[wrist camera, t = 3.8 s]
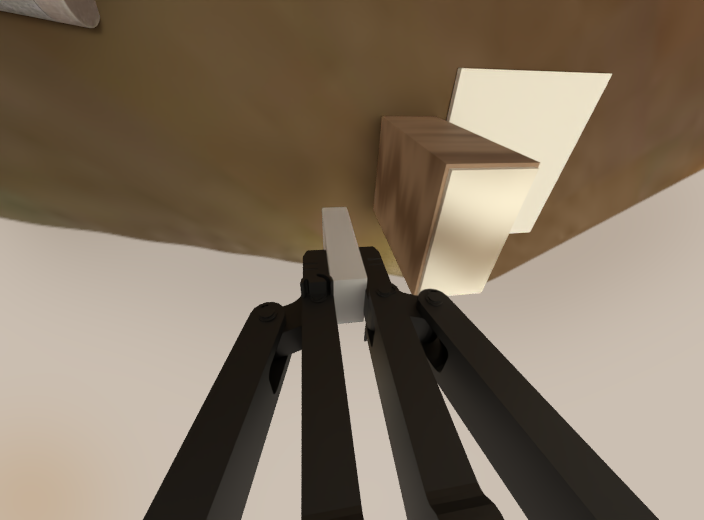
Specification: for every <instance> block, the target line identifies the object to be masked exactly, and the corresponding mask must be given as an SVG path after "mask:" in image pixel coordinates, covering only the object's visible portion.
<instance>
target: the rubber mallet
mask: <svg viewBox="0 0 704 520" xmlns="http://www.w3.org/2000/svg"><path fill="white" fill-rule="evenodd" d="M0 11H5V12H10V13H15V14H20V15H25V16H31V17H36V18H41V19H46V20H51V21H56V22H61V23H67V24H72V25H77V26H82V27H87V28H95V27H96V26H97V25H98V23H99V20H100V15H99V12H98V8H97V5H96V2H95V0H0Z"/></svg>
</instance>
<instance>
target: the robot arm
mask: <svg viewBox="0 0 704 520" xmlns="http://www.w3.org/2000/svg"><path fill="white" fill-rule="evenodd" d="M322 223H323V247H324V250H311V251H306V253H305V255H304V256H303V278H302V279H301V282H300V286H301V297H300V298H299V299H298V300H297V301H295V302H293V303H291V304H289V305H286V306H281V305H280V304H279V303H275V302H266V303H263V304H260V305H259V306H257V307H256V308H254V309H253V311H252V312H251V313H250V316H249V317H248V319H247V321H246V323H245V325H244V327H243V329H242V331H241V333H240V335H239V337H238V338H237V340H236V342H235V344H234V346H233V348H232V350H231V352H230V354H229V356H228V358H227V359H226V361H225V363H224V365H223V367H222V369H221V371H220V373H219V375H218V377H217V379H216V381H215V383H214V385H213V386H212V388H211V390H210V392H209V394H208V396H207V398H206V400H205V402H204V404H203V405H202V407H201V409H200V411H199V413H198V415H197V417H196V419H195V421H194V423H193V425H192V427H191V429H190V430H189V432H188V434H187V436H186V438H185V440H184V442H183V444H182V446H181V448H180V450H179V452H178V453H177V456H176V457H175V459H174V461H173V463H172V465H171V467H170V469H169V471H168V473H167V475H166V477H165V478H164V480H163V483H162V484H161V486H160V488H159V490H158V492H157V494H156V496H155V498H154V500H153V502H152V503H151V505H150V507H149V509H148V511H147V513H146V515H145V517H144V519H143V520H241V518H242V514H243V511H244V508H245V504H246V501H247V498H248V495H249V492H250V488H251V485H252V482H253V479H254V475H255V472H256V469H257V465H258V462H259V459H260V456H261V452H262V449H263V446H264V443H265V440H266V436H267V433H268V430H269V427H270V423H271V420H272V417H273V414H274V410H275V407H276V404H277V400H278V397H279V394H280V391H281V387H282V384H283V381H284V378H285V374H286V371H287V368H288V365H289V362H290V358H291V354H292V353H295V352H297V351H299V350H302V498H301V500H302V501H301V502H302V504H301V509H302V510H301V511H302V512H301V515H302V517H301V520H364V518H363V514H362V506H361V499H360V491H359V484H358V476H357V468H356V461H355V453H354V447H353V438H352V430H351V423H350V415H349V408H348V401H347V393H346V386H345V378H344V370H343V363H342V355H341V347H340V341H339V332H338V325H337V324H341V323H352V322H362V321H363V319H364V317H365V321H366V326H365V336H364V341H368V345H369V350H370V354H371V359H372V363H373V367H374V372H375V377H376V381H377V385H378V390H379V394H380V399H381V404H382V408H383V413H384V417H385V421H386V426H387V430H388V435H389V439H390V444H391V448H392V452H393V457H394V462H395V466H396V470H397V475H398V479H399V484H400V489H401V493H402V498H403V502H404V506H405V511H406V515H407V520H504V519H503V516H502V514H501V513H500V511H499V510H498V508H497V507H496V505H495V504H494V503H493V502H492V501H491V500H490V499H489V498H488V497H486V496H485V495H484V493H483V492H482V490H481V488H480V486H479V484H478V482H477V480H476V477H475V475H474V472H473V470H472V468H471V465H470V463H469V460H468V458H467V455H466V453H465V450H464V448H463V445H462V443H461V440H460V438H459V436H458V433H457V431H456V428H455V426H454V423H453V421H452V418H451V416H450V414H449V411H448V409H447V406H446V404H445V401H444V399H443V396H442V394H441V392H440V389H439V387H438V385H439V386H440V388H441V389H442V391H443V392H444V394H445V395H446V397H447V398H448V400H449V401H450V403H451V404H452V406H453V407H454V409H455V410H456V412H457V413H458V415H459V416H460V418H461V419H462V421H463V422H464V424H465V425H466V427H467V428H468V430H469V431H470V433H471V434H472V436H473V437H474V439H475V440H476V442H477V443H478V445H479V446H480V448H481V449H482V451H483V452H484V454H485V455H486V457H487V458H488V460H489V461H490V463H491V464H492V466H493V467H494V469H495V470H496V472H497V473H498V475H499V476H500V478H501V479H502V481H503V482H504V484H505V485H506V487H507V488H508V490H509V491H510V493H511V494H512V496H513V497H514V499H515V500H516V502H517V503H518V505H519V506H520V508H521V509H522V511H523V512H524V513H525V515H526V517H527V518H528V520H659V519H658V518H657V517H656V516H655V515H654V514H653V513H652V512H651V511H650V510H649V509H648V507H647V506H646V505H645V504H644V503H643V502H642V501H641V500H640V499H639V498H638V497H637V496H636V495H635V494H634V493H633V492H632V491H631V490H630V488H629V487H628V486H627V485H626V484H625V483H624V482H623V481H622V480H621V479H620V478H619V477H618V476H617V475H616V474H615V473H614V472H613V471H612V470H611V468H610V467H609V466H608V465H607V464H606V463H605V462H604V461H603V460H602V459H601V458H600V457H599V456H598V455H597V454H596V453H595V451H594V450H593V449H591V447H590V446H589V445H588V444H587V443H586V442H585V441H584V440H583V439H582V438H581V437H580V436H579V435H578V434H577V433H576V432H575V430H573V428H572V427H571V426H570V425H569V424H568V423H567V422H566V421H565V420H564V419H563V418H562V417H561V416H560V415H559V414H558V412H557V411H556V410H555V409H554V408H553V407H552V406H551V405H550V404H549V403H548V402H547V401H546V400H545V399H544V398H543V397H542V396H541V395H540V393H539V392H537V390H536V389H535V388H534V387H533V386H532V385H531V384H530V383H529V382H528V381H527V380H526V379H525V378H524V377H523V376H522V374H521V373H520V372H519V371H517V369H516V368H515V367H514V366H513V365H512V364H511V363H510V362H509V361H508V360H507V359H506V358H505V357H504V356H503V354H502V353H501V352H500V351H499V350H498V349H497V348H496V347H495V346H494V345H493V344H492V343H491V342H490V341H489V340H488V339H487V338H486V336H485V335H484V334H483V333H482V332H481V331H480V330H479V329H478V328H477V327H476V326H475V325H474V324H473V323H472V322H471V321H470V320H469V319H468V318H467V316H465V314H464V313H463V312H462V311H461V310H460V309H459V308H458V307H457V306H456V305H455V304H454V303H453V302H452V301H451V300H450V299H449V297H448V296H447V295H445V294H444V293H443V292H441V291H439V290H436V289H424V290H422V291H421V292H420V293H419V295H412V294H406V293H403V292H401V291H399V289H398V288H397V287H396V286H395V285H394V284H392V283H391V282H390V279H389V276H388V274H387V271H386V269H385V266H384V264H383V261H382V259H381V256H380V253H379V251H378V250H376V249H375V248H374V247H373V246H372V247H358V244H357V241H356V237H355V234H354V230H353V227H352V224H351V220H350V217H349V213H348V210H347V207H331V208H322ZM437 383H438V384H437Z"/></svg>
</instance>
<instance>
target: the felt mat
mask: <svg viewBox="0 0 704 520" xmlns="http://www.w3.org/2000/svg"><path fill="white" fill-rule="evenodd" d="M611 76H612V74H606V73H579V72H552V71H525V70H497V69H470V68H458V71H457V76H456V80H455V85H454V89H453V94H452V98H451V103H450V107H449V111H448V116H447V120H446V121H448V122H450V123H452V124H455V125H457V126H459V127H461V128H464V129H466V130H468V131H470V132H473V133H475V134H477V135H479V136H482V137H484V138H486V139H488V140H491V141H493V142H495V143H497V144H500V145H502V146H504V147H506V148H509V149H511V150H513V151H515V152H518V153H520V154H522V155H524V156H527V157H529V158H531V159H533V160H536V161H538V162H540V165H539V167H538V168H539V170H538V172H537V174H536V177H535V179H534V181H533V183H532V185H531V187H530V189H529V192H528V194H527V196H526V198H525V200H524V202H523V205H522V207H521V209H520V211H519V213H518V215H517V217H516V220H515V222H514V224H513V226H512V228H511V230H510V232H509V233H524V232H530V231H531V229H532V227H533V225H534V223H535V221H536V219H537V218H538V216H539V214H540V212H541V210H542V208H543V206H544V204H545V202H546V200H547V198H548V196H549V195H550V193H551V191H552V189H553V187H554V185H555V183H556V181H557V179H558V177H559V175H560V173H561V171H562V170H563V168H564V166H565V164H566V162H567V160H568V158H569V156H570V154H571V152H572V150H573V148H574V147H575V145H576V143H577V141H578V139H579V137H580V135H581V133H582V131H583V129H584V127H585V125H586V124H587V122H588V120H589V118H590V116H591V114H592V112H593V110H594V108H595V106H596V104H597V102H598V101H599V99H600V97H601V95H602V93H603V91H604V89H605V87H606V85H607V83H608V81H609V79H610V78H611Z"/></svg>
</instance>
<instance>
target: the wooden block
mask: <svg viewBox="0 0 704 520" xmlns="http://www.w3.org/2000/svg"><path fill="white" fill-rule="evenodd" d="M539 165H540V162H538V161H536V160H533V159H531V158H529V157H527V156H524V155H522V154H520V153H518V152H515V151H513V150H511V149H509V148H506V147H504V146H502V145H500V144H497V143H495V142H493V141H491V140H488V139H486V138H484V137H482V136H479V135H477V134H475V133H473V132H470V131H468V130H466V129H464V128H461V127H459V126H457V125H455V124H452V123H450V122H448V121H446V120H443V119H441V118H439V117H437V116H382V119H381V130H380V142H379V153H378V164H377V175H376V186H375V198H374V209H373V211H374V213H375V215H376V217H377V220H378V222H379V224H380V226H381V228H382V230H383V233H384V235H385V237H386V239H387V241H388V244H389V246H390V248H391V250H392V252H393V254H394V257H395V259H396V261H397V263H398V265H399V267H400V270H401V272H402V274H403V276H404V278H405V280H406V282H407V285H408V287H409V289H410V291H411V293H412V295H419V293H420V292H421V291H422V290H424V289H436V290H439V291H441V292H443V293H444V294H445V295H447V296H452V295H463V294H474V293H481V292H482V290H483V288H484V286H485V284H486V282H487V280H488V277H489V275H490V273H491V271H492V269H493V267H494V265H495V262H496V260H497V258H498V256H499V254H500V252H501V250H502V247H503V245H504V243H505V241H506V239H507V237H508V235H509V232H510V230H511V228H512V226H513V224H514V222H515V220H516V217H517V215H518V213H519V211H520V209H521V207H522V205H523V202H524V200H525V198H526V196H527V194H528V192H529V189H530V187H531V185H532V183H533V181H534V179H535V177H536V174H537V172H538V170H539V168H538V167H539Z"/></svg>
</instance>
